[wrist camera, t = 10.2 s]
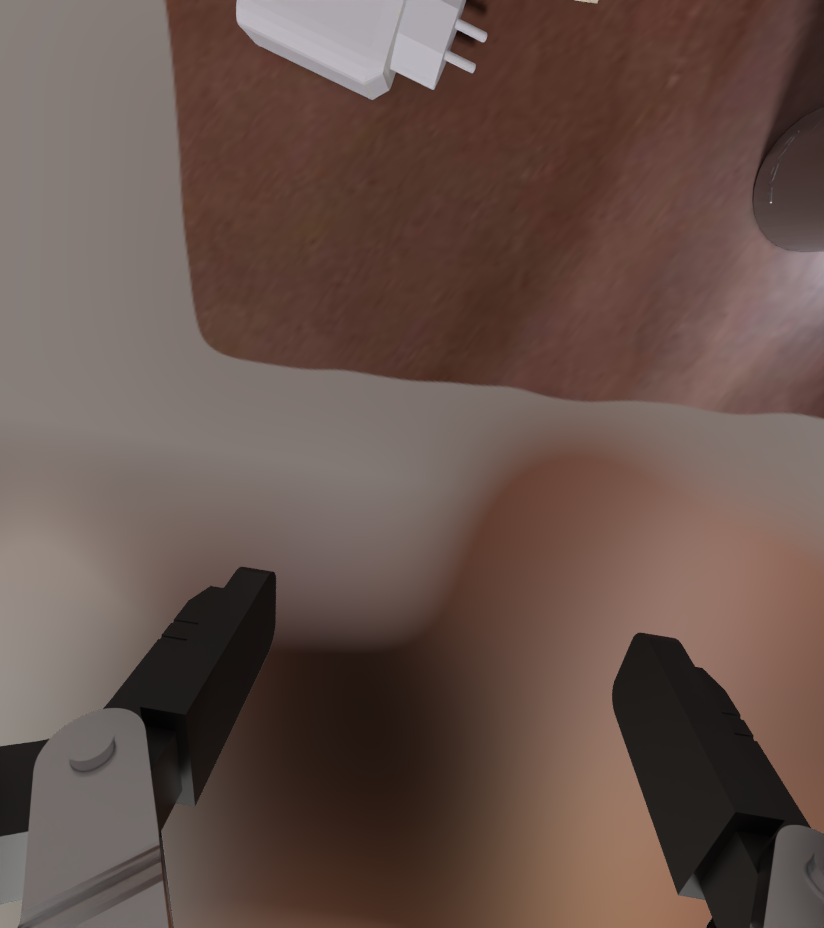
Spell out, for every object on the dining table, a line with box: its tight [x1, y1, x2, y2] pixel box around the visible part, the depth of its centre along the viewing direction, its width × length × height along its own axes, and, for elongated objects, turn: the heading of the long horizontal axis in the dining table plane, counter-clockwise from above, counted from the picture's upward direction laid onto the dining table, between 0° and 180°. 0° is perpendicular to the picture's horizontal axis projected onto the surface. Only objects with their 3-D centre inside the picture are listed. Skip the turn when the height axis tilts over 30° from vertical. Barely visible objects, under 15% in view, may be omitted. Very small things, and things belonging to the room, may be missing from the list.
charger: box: [236, 0, 487, 100], centre depth 30 cm, size 5×9×15 cm
